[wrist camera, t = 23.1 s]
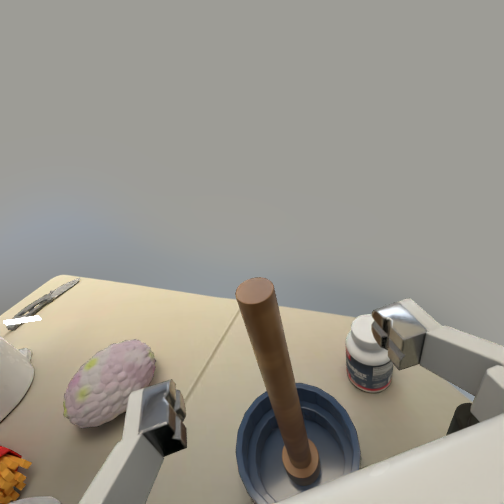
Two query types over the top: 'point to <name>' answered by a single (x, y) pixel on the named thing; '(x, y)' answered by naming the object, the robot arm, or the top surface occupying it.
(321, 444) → the bowl
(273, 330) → the muddler
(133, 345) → the decorative item
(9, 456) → the french fries
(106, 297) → the top surface
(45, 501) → the toy
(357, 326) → the pill bottle
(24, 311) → the knife
